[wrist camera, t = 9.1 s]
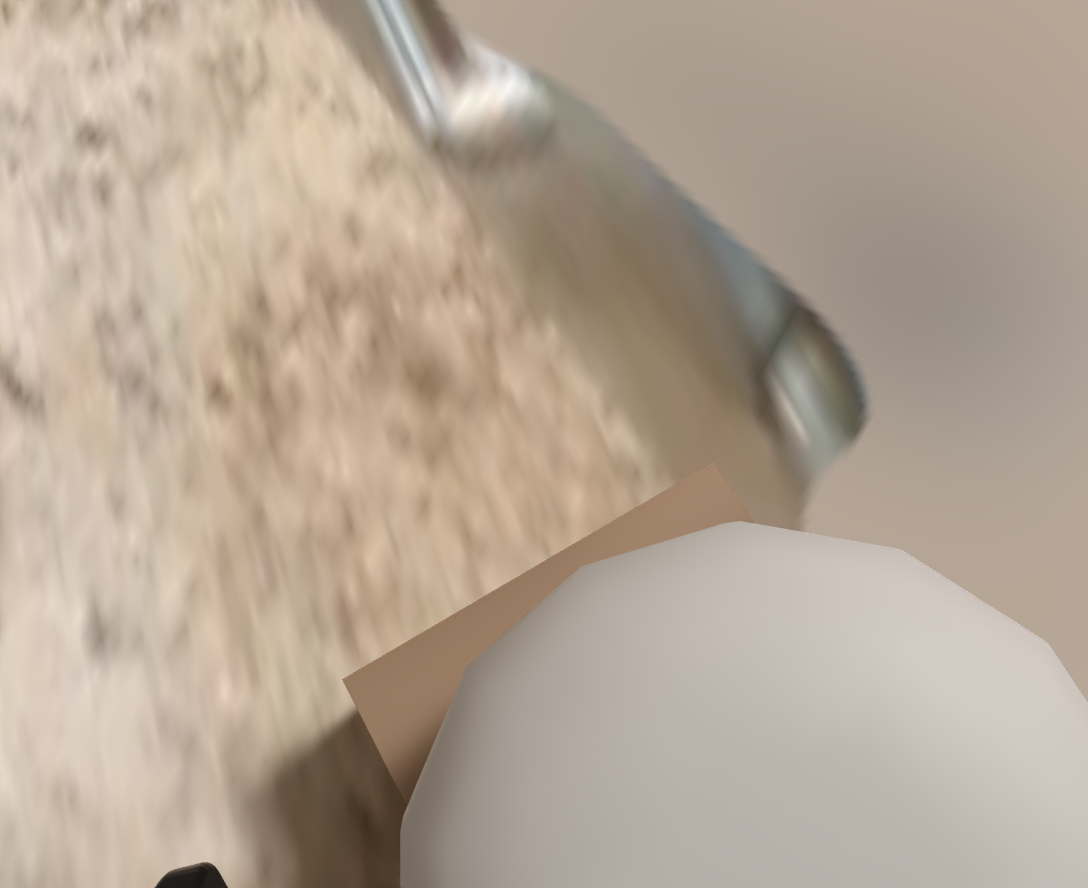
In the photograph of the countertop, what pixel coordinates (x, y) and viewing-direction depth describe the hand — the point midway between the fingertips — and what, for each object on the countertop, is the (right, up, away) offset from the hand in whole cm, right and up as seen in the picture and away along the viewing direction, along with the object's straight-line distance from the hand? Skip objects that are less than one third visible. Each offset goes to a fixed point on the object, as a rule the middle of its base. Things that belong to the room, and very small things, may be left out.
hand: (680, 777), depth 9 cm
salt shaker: (+1, -3, +8) cm, 8 cm away
